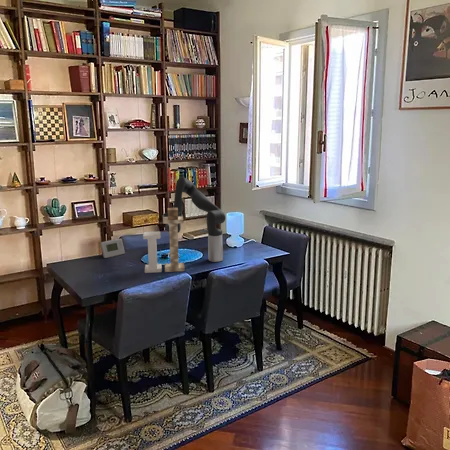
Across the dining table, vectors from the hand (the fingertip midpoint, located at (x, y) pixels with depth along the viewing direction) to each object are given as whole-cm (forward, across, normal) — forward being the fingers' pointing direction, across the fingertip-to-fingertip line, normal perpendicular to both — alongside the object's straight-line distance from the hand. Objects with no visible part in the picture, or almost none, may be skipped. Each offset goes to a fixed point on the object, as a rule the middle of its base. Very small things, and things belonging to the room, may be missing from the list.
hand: (172, 211), depth 286 cm
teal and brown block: (0, 0, +3) cm, 3 cm away
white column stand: (-11, -13, +34) cm, 38 cm away
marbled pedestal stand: (-11, 0, +34) cm, 36 cm away
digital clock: (-41, -41, +17) cm, 60 cm away
